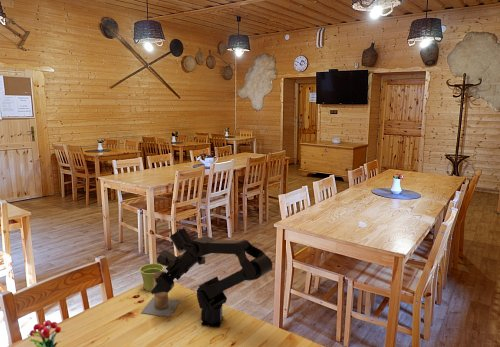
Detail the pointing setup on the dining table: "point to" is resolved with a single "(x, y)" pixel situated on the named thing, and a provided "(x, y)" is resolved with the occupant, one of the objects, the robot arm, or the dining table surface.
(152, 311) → the slate coaster
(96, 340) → the dining table surface
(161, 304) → the oak pepper mill
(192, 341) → the dining table surface
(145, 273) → the plant pot
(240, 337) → the dining table surface
